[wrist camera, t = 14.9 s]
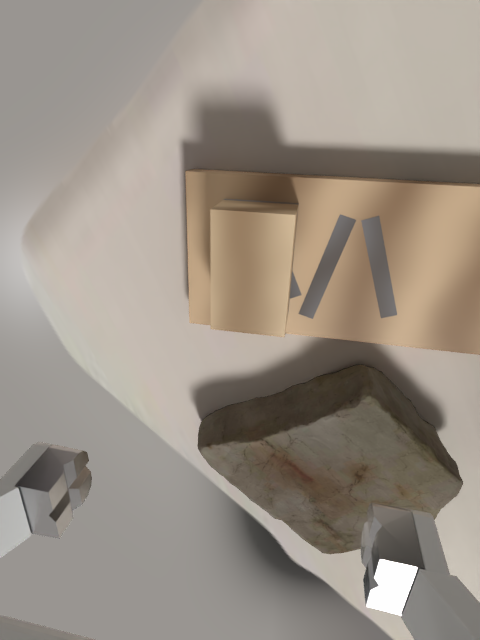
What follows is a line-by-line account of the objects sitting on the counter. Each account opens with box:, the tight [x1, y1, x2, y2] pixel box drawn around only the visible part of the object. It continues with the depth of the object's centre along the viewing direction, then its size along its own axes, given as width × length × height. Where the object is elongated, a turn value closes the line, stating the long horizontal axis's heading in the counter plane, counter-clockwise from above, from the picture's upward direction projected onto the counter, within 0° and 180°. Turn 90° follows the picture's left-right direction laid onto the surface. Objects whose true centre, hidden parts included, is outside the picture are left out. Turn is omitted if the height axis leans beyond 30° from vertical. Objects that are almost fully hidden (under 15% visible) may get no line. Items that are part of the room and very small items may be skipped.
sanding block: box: [210, 199, 299, 337], centre depth 23 cm, size 4×7×4 cm, turn 178°
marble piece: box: [198, 365, 463, 554], centre depth 31 cm, size 17×15×4 cm
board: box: [185, 169, 480, 355], centre depth 25 cm, size 24×10×2 cm, turn 88°
